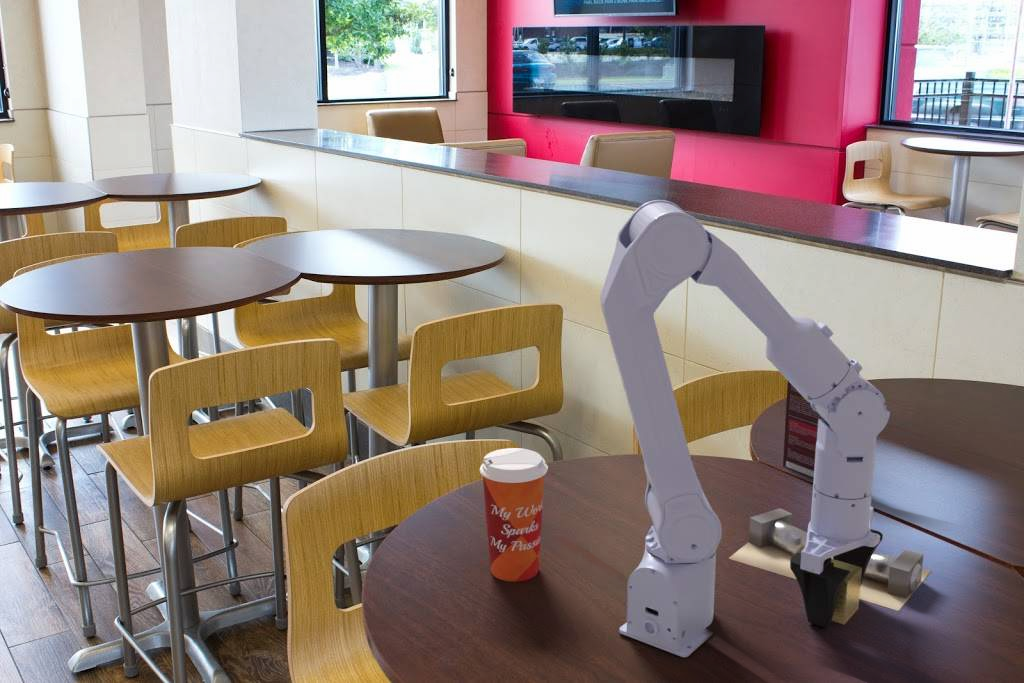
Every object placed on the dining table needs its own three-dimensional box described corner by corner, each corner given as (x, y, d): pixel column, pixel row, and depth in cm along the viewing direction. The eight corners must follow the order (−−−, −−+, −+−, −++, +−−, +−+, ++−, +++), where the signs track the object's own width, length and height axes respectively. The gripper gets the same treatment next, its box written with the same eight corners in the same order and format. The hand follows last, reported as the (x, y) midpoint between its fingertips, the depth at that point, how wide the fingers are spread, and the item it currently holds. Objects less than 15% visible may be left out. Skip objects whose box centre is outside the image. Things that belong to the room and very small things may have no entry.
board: (897, 621, 107) (901, 583, 106) (727, 567, 119) (729, 533, 118) (930, 580, 115) (933, 545, 114) (768, 534, 127) (770, 501, 126)
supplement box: (851, 484, 142) (860, 375, 138) (828, 492, 139) (836, 382, 135) (802, 465, 149) (809, 361, 145) (780, 473, 146) (786, 367, 142)
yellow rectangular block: (843, 635, 105) (847, 582, 103) (806, 622, 107) (809, 571, 106) (857, 618, 108) (861, 567, 106) (821, 607, 110) (824, 556, 109)
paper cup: (491, 590, 114) (488, 474, 111) (475, 560, 122) (472, 450, 118) (557, 581, 116) (557, 466, 113) (537, 551, 124) (537, 443, 120)
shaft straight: (919, 584, 112) (922, 560, 111) (910, 595, 110) (913, 570, 109) (861, 567, 116) (863, 543, 115) (851, 577, 114) (853, 553, 113)
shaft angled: (812, 554, 119) (813, 530, 119) (794, 560, 118) (795, 536, 117) (771, 533, 125) (772, 510, 124) (753, 539, 123) (754, 516, 123)
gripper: (854, 523, 96) (844, 651, 99) (905, 475, 107) (894, 592, 110) (783, 504, 100) (776, 628, 103) (839, 460, 111) (831, 573, 114)
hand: (832, 608), depth 107 cm, fingers open, 7 cm apart
